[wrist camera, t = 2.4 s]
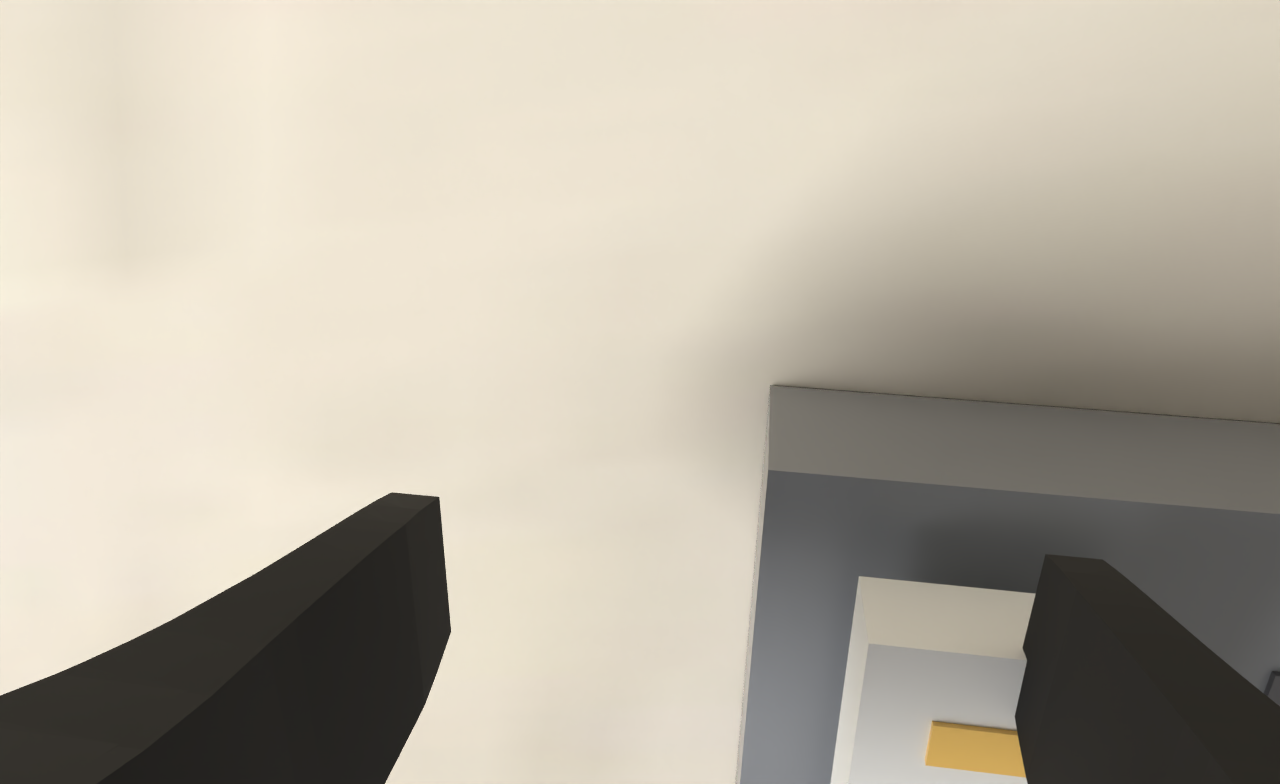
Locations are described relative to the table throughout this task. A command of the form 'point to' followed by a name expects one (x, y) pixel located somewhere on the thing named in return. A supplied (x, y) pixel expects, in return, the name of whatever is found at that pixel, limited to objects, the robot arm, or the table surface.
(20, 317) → the table surface
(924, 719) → the rocker
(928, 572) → the grey flat tray
